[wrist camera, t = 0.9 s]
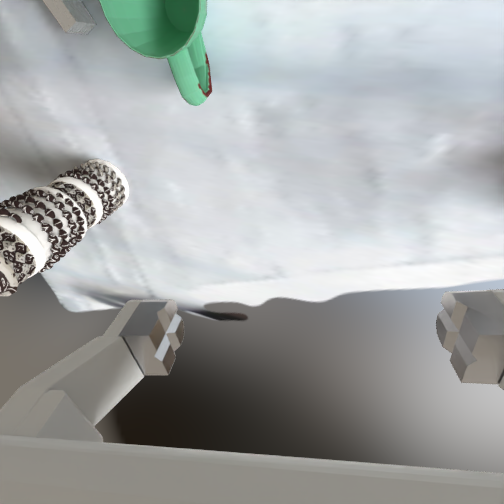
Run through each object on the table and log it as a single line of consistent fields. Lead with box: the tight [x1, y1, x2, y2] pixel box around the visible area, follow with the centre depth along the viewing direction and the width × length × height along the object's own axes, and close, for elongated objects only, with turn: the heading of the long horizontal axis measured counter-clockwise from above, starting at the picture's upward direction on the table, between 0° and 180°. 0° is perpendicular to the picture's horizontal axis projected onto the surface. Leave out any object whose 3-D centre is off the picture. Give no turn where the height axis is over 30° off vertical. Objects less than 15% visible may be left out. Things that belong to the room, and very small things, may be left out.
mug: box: [99, 0, 212, 106], centre depth 31 cm, size 15×10×10 cm
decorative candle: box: [0, 159, 129, 296], centre depth 39 cm, size 9×9×25 cm
